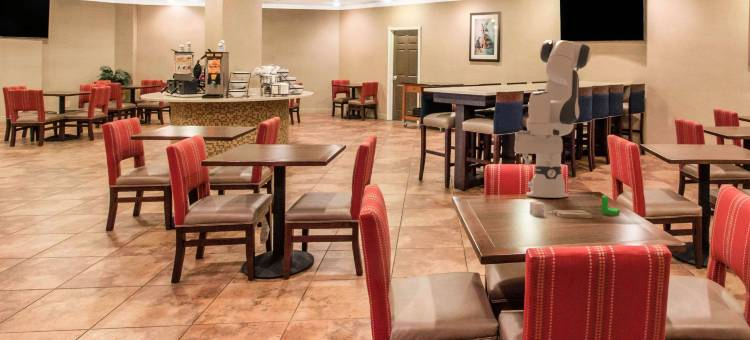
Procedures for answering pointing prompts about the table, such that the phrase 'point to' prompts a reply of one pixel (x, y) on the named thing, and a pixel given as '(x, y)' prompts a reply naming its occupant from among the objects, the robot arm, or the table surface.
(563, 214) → the birch board
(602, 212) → the mechanical part
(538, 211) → the connector
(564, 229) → the table surface
